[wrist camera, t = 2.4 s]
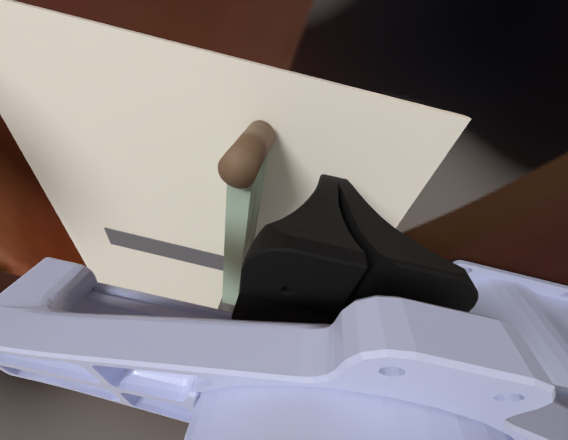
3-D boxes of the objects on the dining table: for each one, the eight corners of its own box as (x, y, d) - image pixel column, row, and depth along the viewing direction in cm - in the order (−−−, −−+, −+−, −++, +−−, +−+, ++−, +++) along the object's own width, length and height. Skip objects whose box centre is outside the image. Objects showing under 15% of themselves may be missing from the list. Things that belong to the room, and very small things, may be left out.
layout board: (465, 115, 10) (472, 119, 10) (307, 351, 28) (306, 357, 28) (-61, -19, 10) (-80, -22, 10) (115, 306, 28) (111, 311, 27)
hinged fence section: (252, 265, 18) (237, 313, 15) (235, 261, 18) (216, 308, 15) (277, 123, 11) (257, 158, 8) (248, 116, 11) (217, 149, 8)
